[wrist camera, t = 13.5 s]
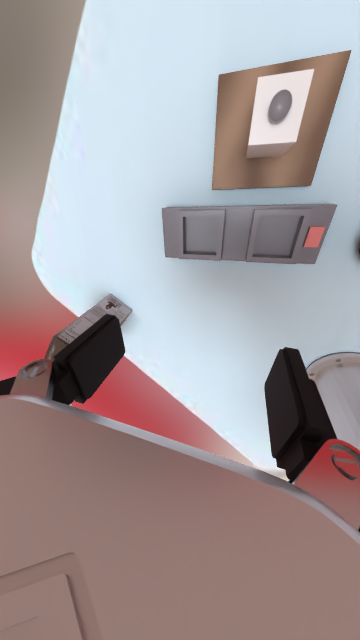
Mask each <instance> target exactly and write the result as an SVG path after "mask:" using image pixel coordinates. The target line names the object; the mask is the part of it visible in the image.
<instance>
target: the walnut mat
mask: <svg viewBox="0 0 360 640" xmlns="http://www.w3.org/2000/svg"><path fill="white" fill-rule="evenodd" d="M350 53H351V50H349V51H343V52H338V53H333V54H327V55H322V56H317V57H311V58H306V59H301V60H295V61H290V62H285V63H279V64H274V65H269V66H263V67H258V68H253V69H247V70H242V71H237V72H231V73H226V74H221V75H219V81H218V98H217V115H216V133H215V150H214V167H213V184H212V190H221V189H245V188H269V187H292V186H310V185H311V183H312V180H313V177H314V173H315V170H316V167H317V163H318V160H319V157H320V153H321V150H322V147H323V143H324V140H325V137H326V133H327V130H328V127H329V123H330V120H331V117H332V113H333V110H334V107H335V103H336V100H337V97H338V93H339V90H340V87H341V83H342V80H343V77H344V73H345V70H346V67H347V63H348V60H349V57H350ZM309 69H314V73H313V77H312V81H311V85H310V89H309V93H308V97H307V100H306V104H305V108H304V112H303V116H302V120H301V124H300V128H299V132H298V136H297V140H296V142H295V143H294V144H293V145H292V146H291V147H290V148H289V149H288V150H287V151H286V152H285V153H284V154H283V155H282V156H275V157H258V158H246V156H247V149H248V142H249V135H250V128H251V121H252V114H253V107H254V101H255V94H256V88H257V82H258V77H263V76H270V75H277V74H283V73H290V72H296V71H303V70H309Z"/></svg>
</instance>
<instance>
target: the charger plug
mask: <svg viewBox="0 0 360 640" xmlns="http://www.w3.org/2000/svg"><path fill="white" fill-rule="evenodd" d="M313 73H314V69H309V70H303V71H296V72H290V73H283V74H277V75H270V76H263V77H258V82H257V88H256V94H255V101H254V107H253V114H252V121H251V128H250V135H249V142H248V149H247V156H246V158H258V157H275V156H282V155H283V154H284V153H285V152H286V151H287V150H288V149H289V148H290V147H291V146H292V145H293V144H294V143H295V142H296V140H297V136H298V132H299V128H300V124H301V120H302V116H303V112H304V108H305V104H306V100H307V97H308V93H309V89H310V85H311V81H312V77H313Z"/></svg>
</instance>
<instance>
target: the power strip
mask: <svg viewBox="0 0 360 640" xmlns="http://www.w3.org/2000/svg"><path fill="white" fill-rule="evenodd" d="M336 207H337V205H336V204H303V205H256V206H210V207H167V208H162V218H163V232H164V246H165V257H172V258H179V259H199V260H237V261H246V262H263V263H284V264H296V263H302V264H315V262H316V259H317V256H318V254H319V251H320V249H321V246H322V243H323V241H324V238H325V235H326V233H327V230H328V228H329V225H330V222H331V220H332V217H333V215H334V212H335V209H336Z"/></svg>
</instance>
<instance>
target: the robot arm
mask: <svg viewBox="0 0 360 640" xmlns="http://www.w3.org/2000/svg"><path fill="white" fill-rule="evenodd" d="M124 353H125V347H124V342H123V337H122V332H121V327H120V322H119V319H118V318H117V317H116V316H115V315H110V314H105V315H104V316H103V317H102V318H100V319H99V320H98V321H97V322H95V323H94V324H93V325H92V326H91V327H89V328H88V329H87V330H86V331H84V332H83V333H82V334H81V335H79V336H78V337H77V338H76V339H75V340H73V341H72V342H71V343H70V344H68V345H67V346H66V347H65V348H64V349H62V350H61V351H60V352H59V353H57V354H56V355H55V356H54V357H53V358H54V361H53V362H51V361H50V360H48V359H39V360H35V361H32V362H30V363H29V364H27V365H25V366H24V367H22V369H20V370H19V372H18V374H17V376H16V377H12V378H9V379H6V380H2V381H0V640H360V354H357V353H339V354H333V355H329V356H326V357H323V358H321V359H319V360H317V361H315V362H314V363H312V364H311V365H310V366H309V367H308V368H307V370H306V369H305V366H304V363H303V360H302V358H301V355H300V352H299V350H298V349H293V348H287V347H285V348H284V349H280V350H279V352H278V354H277V357H276V359H275V361H274V364H273V366H272V368H271V371H270V373H269V375H268V378H267V380H266V382H265V398H266V407H267V416H268V425H269V434H270V443H271V452H272V457H273V458H276V461H277V467H279V468H282V469H285V470H286V476H287V478H288V479H289V481H288V482H287V481H285V480H282V479H280V478H278V477H275V476H273V475H271V474H268V473H266V472H263V471H261V470H258V469H255V468H252V467H249V466H247V465H244V464H241V463H238V462H235V461H233V460H230V459H227V458H224V457H221V456H218V455H216V454H212V453H209V452H206V451H204V450H201V449H198V448H195V447H192V446H189V445H186V444H183V443H180V442H177V441H174V440H171V439H169V438H166V437H162V436H159V435H157V434H154V433H151V432H148V431H145V430H142V429H139V428H136V427H133V426H130V425H127V424H124V423H121V422H118V421H115V420H112V419H108V418H106V417H103V416H100V415H97V414H94V413H91V412H88V411H85V410H81V409H78V408H76V407H72V405H71V404H72V402H73V401H74V400H75V401H76V402H79V403H84V402H85V401H86V400H87V399H89V398H90V397H91V396H92V395H93V394H94V392H95V391H96V390H97V388H98V387H99V386H100V384H102V382H103V381H104V380H105V378H106V377H107V376H108V375H109V373H110V372H111V371H112V370H113V368H114V367H115V366H116V364H117V363H118V362H119V361H120V359H121V358H122V357H123V355H124ZM331 423H332V424H331ZM333 428H334V429H333ZM335 433H336V434H335ZM337 438H338V439H337Z"/></svg>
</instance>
